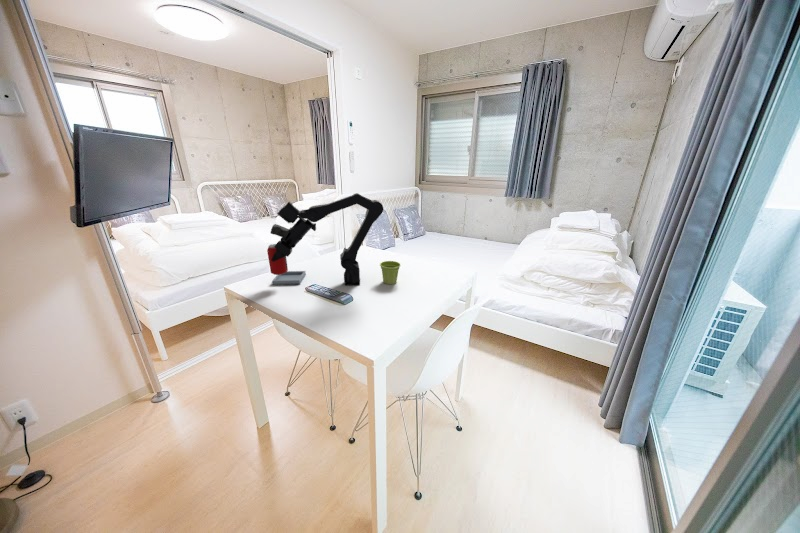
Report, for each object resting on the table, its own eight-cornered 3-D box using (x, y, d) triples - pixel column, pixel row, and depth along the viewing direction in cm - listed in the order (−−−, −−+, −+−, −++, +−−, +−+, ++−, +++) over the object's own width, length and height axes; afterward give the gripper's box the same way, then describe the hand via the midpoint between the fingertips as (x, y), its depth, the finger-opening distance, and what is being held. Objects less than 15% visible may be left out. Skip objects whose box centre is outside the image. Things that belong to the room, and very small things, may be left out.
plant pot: (399, 278, 130) (400, 260, 127) (400, 286, 121) (400, 267, 118) (380, 278, 130) (380, 260, 127) (379, 286, 121) (379, 267, 118)
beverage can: (291, 271, 118) (288, 244, 114) (280, 276, 112) (275, 248, 108) (279, 269, 120) (275, 242, 116) (267, 274, 114) (262, 246, 110)
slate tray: (305, 274, 132) (305, 270, 131) (299, 284, 121) (299, 280, 120) (281, 275, 131) (280, 271, 130) (272, 285, 120) (272, 280, 119)
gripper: (286, 213, 117) (263, 240, 119) (276, 221, 100) (249, 252, 102) (307, 231, 121) (284, 256, 123) (301, 241, 104) (275, 270, 106)
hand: (274, 258), depth 113 cm, fingers closed on beverage can, 7 cm apart
